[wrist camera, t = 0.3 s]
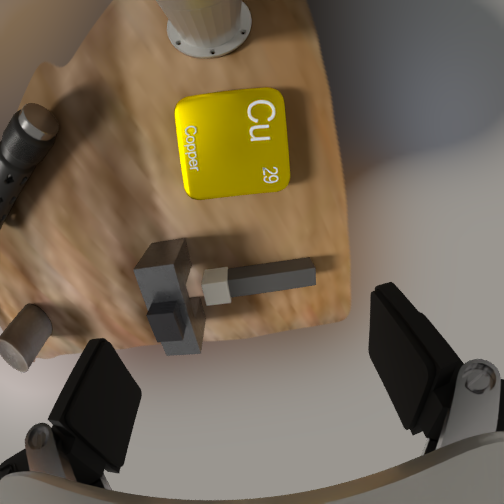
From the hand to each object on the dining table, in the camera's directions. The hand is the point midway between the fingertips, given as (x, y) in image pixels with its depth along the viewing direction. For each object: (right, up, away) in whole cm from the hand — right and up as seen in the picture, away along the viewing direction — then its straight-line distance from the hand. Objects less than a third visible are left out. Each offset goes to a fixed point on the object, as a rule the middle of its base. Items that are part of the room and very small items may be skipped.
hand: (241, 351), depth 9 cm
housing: (-12, -2, +40) cm, 42 cm away
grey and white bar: (+1, 0, +40) cm, 39 cm away
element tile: (-2, +20, +31) cm, 37 cm away
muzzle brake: (-43, +18, +29) cm, 55 cm away
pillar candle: (-51, -13, +43) cm, 68 cm away
